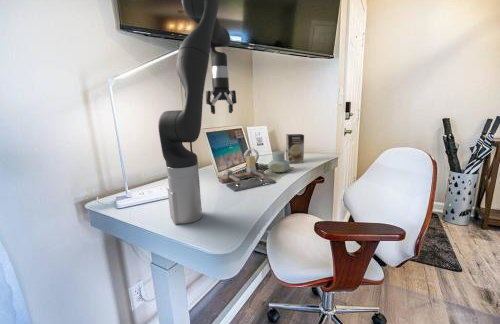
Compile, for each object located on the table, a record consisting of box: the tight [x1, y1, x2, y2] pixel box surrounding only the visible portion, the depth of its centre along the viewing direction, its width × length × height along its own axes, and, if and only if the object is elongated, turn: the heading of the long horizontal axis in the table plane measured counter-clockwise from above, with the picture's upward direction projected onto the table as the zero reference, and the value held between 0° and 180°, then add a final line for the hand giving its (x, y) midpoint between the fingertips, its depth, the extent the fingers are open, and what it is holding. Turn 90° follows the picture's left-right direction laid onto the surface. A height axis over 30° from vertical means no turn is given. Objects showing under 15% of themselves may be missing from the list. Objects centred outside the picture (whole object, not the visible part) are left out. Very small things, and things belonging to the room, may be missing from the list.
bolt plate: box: [225, 175, 276, 192], centre depth 112 cm, size 20×8×1 cm, turn 119°
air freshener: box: [267, 150, 291, 173], centre depth 130 cm, size 11×8×10 cm
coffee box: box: [285, 133, 305, 165], centre depth 147 cm, size 9×6×16 cm
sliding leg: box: [245, 154, 265, 179], centre depth 118 cm, size 3×13×8 cm, turn 29°
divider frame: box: [218, 168, 265, 184], centre depth 117 cm, size 22×13×5 cm, turn 119°
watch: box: [243, 148, 260, 170], centre depth 136 cm, size 6×8×11 cm
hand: (222, 113), depth 121 cm, fingers open, 8 cm apart
